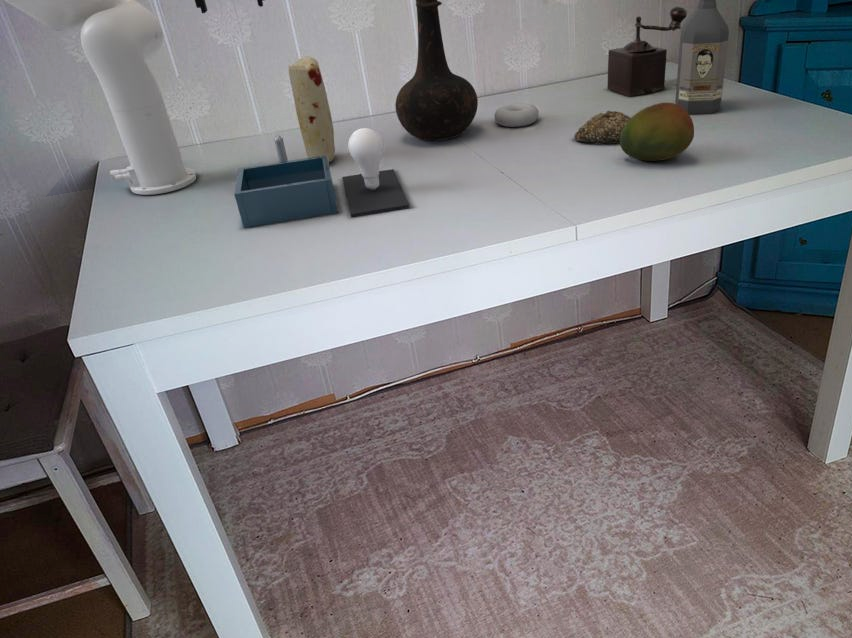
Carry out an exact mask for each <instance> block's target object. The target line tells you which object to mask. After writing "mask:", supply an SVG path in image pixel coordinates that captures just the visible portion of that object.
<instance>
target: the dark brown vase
mask: <svg viewBox="0 0 852 638" xmlns="http://www.w3.org/2000/svg"><path fill="white" fill-rule="evenodd" d="M441 5H443V2H442V1H439V0H415V7H416V16H417V17H416V18H417V19H416V20H417V60H416V61H417V62H416V67H415V72H414V75H413V77H412V78H410V79H409V80H408V81H407V82H406V83H405V84H404V85H402V87H401V88H400V89H399V91H398V93H397V95H396V99H395V105H394V106H395V113H396V117H397V120H398V121H399V123H400V124H401V126H402V128H403V129H404V130H405V131H406V132H407V133H408V134H409V135H411V136H413V137H415V138H417V139H419V140H424V141H442V140H447V139H452V138H456V137H458V136H460V135H462V134H463V133H464V132H465V131H467V129H468V128H469V127H470V125H471V124H472V123H473V121H474V120H475V117H476V114H477V111H478V104H479V101H478V95H477V92H476V89H475V87H474V86H473V85H472V84H471V83H470V82H469V80H467V79H466V78H464V77H462V76H460V75H457V74H455V73H453V72H452V71H451V69H450V66H449V65H448V61H447V58H446V53H445V52H446V51H445V48H444V42H443V35H442V34H443V33H442V27H441V21H440V14H439V6H441Z"/></svg>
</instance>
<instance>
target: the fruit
mask: <svg viewBox="0 0 852 638" xmlns="http://www.w3.org/2000/svg"><path fill="white" fill-rule="evenodd" d="M630 118H631V119H630V120H629V121H628V122H627V123H626V125H625V126H624V128H623V130H622V132H621V134H620V143H619V145H620V148H621V150H622V151H623V153H625V154H626V155H627V156H628V157H631V158H633V159H636V160H640V161H644V162H645V161H646V162H655V161H658V162H659V161H664V160H669V159H673V158H675V157H677V156H679V155H681V154H682V153H683V152H685V151H686V150H687V149H689V147H690V145H691V144H692V142H693V140H694V137H695V125H694V121H693V119H692V117H691V114H688V112H687V111H686V110H685V109H684V108H683V107H681V106H679V105H677V104H676V103H675V102H667V101H666V102H660V103H655V104H652V105H650V106H647V107H644V108H643V109H640V110H639V111H638V112H636V113H635V114H634V115H633V116H631V117H630Z"/></svg>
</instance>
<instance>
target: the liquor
mask: <svg viewBox="0 0 852 638" xmlns="http://www.w3.org/2000/svg"><path fill="white" fill-rule="evenodd" d="M729 37H730V30H729V25H728V24H727V22H726V21H725V19H724V18H723V16H722V14H721V13H720V12H719V10H718V9H717V0H698V2H697V7H696V9H695V10H693V12H692V13H691V14H690V16H689V17H688V18H687V19H686V20H685V21H684V22H683V24H682V26H681V29H680V36H679V51H678V62H677V73H676V74H677V75H676V76H677V77H676V86H675V87H676V88H675V99H674V100H675V101H674V104H677V105H679V106H681V107H683V108H684V109H685V110H686V111H687V112H688V114H689V115H707V114H708V115H709V114H713V113H716V112H719V110H720V109H721V106H722V97H723V89H724V81H725V71H726V63H727V53H728V44H729Z"/></svg>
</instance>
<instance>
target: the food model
mask: <svg viewBox="0 0 852 638" xmlns="http://www.w3.org/2000/svg"><path fill="white" fill-rule="evenodd" d="M288 77H289V81H290V86H291V91H292V97H293V101H294V108H295V112H296V117H297V121H298V125H299V130H300V134H301V138H302V142H303V146H304V150H305V153H306V158H312V157H318V156H325V155H327V157H328V162H329V163H330V162H332V161H333V160H334V158H335V154H336V145H335V131H334V125H333V118H332V114H331V108H330V104H329V100H328V93H327V90H326V87H325V83H324V79H323V75H322V72H321V68H320V65H319V62H318V60H317V59H316V58H314V57H312V56H309V55H306V56H303V57H302V58H299V59H297V60H295V62H294V63H292V64H291V65H288Z"/></svg>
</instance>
